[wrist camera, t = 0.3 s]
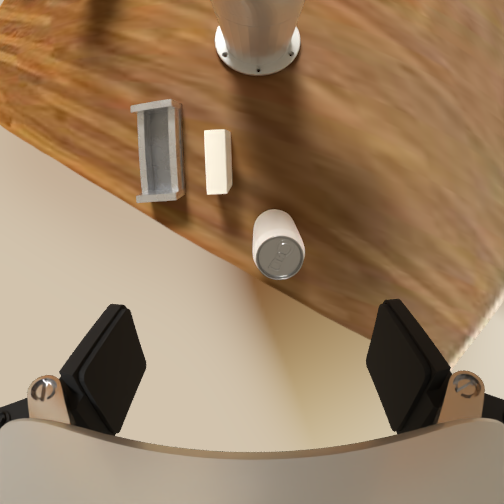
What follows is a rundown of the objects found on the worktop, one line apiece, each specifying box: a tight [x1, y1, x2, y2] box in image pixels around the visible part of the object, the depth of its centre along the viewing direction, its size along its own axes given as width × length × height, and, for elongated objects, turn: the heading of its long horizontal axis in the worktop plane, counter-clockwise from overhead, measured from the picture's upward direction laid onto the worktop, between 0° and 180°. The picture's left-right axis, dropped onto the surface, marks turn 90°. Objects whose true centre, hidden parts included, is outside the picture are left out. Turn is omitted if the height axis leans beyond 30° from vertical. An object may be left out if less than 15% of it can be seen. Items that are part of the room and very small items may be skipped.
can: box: [253, 209, 305, 280], centre depth 38 cm, size 6×6×12 cm
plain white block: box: [204, 129, 232, 194], centre depth 36 cm, size 8×3×8 cm, turn 1°
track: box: [131, 99, 186, 203], centre depth 37 cm, size 14×6×6 cm, turn 1°
